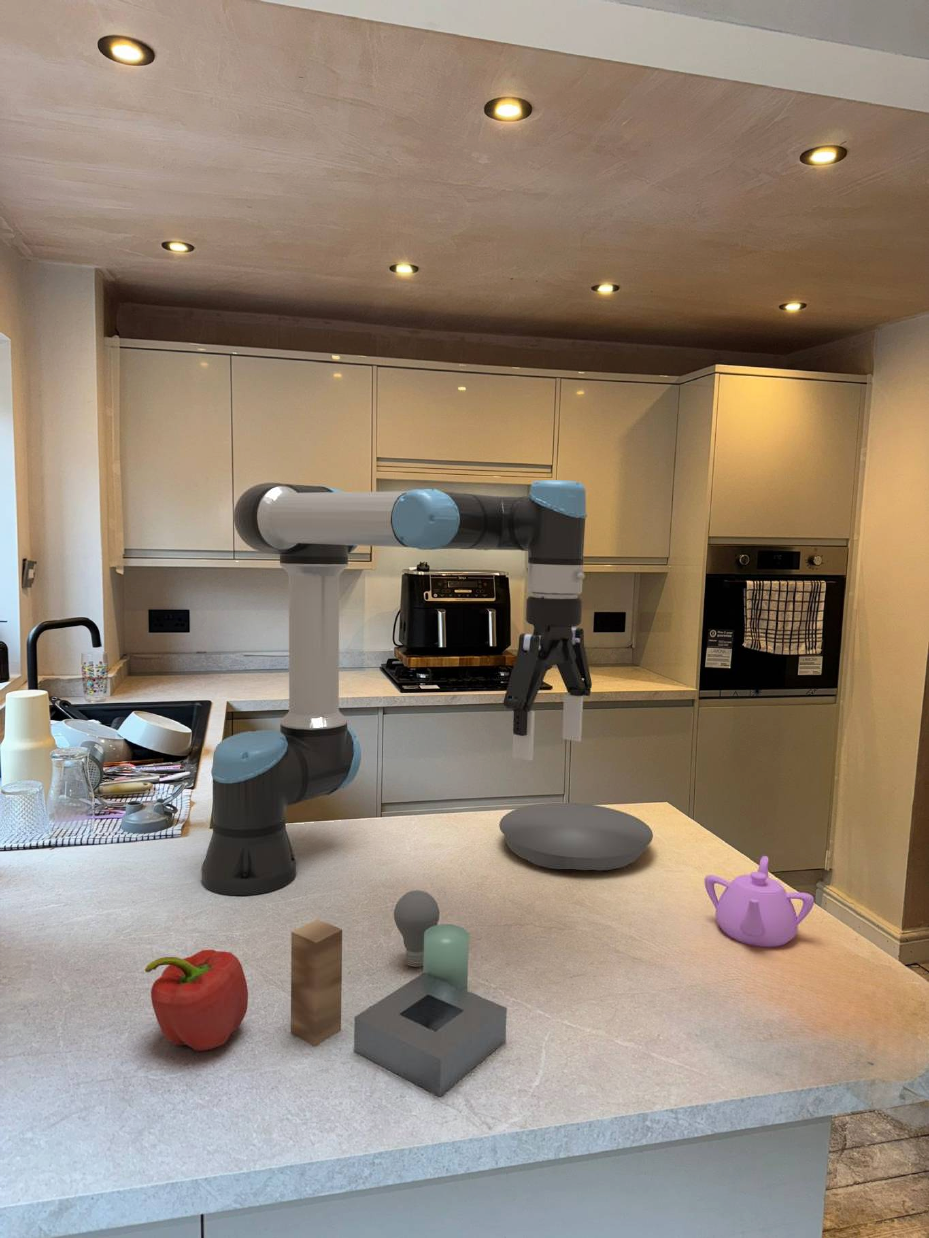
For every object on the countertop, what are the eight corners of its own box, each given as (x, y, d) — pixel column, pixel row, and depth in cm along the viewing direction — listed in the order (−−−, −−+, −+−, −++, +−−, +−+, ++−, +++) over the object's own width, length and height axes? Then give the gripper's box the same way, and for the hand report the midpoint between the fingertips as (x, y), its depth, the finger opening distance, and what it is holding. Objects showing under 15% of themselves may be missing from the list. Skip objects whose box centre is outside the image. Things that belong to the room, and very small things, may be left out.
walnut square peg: (290, 1032, 94) (291, 931, 93) (316, 1017, 97) (317, 919, 96) (315, 1046, 91) (316, 942, 90) (340, 1029, 95) (342, 929, 93)
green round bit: (413, 998, 101) (414, 935, 101) (441, 979, 106) (442, 920, 105) (448, 1014, 98) (450, 950, 97) (475, 994, 103) (477, 933, 102)
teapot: (762, 908, 130) (766, 853, 129) (822, 951, 116) (827, 890, 115) (695, 915, 126) (698, 859, 125) (749, 960, 113) (753, 898, 112)
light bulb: (444, 958, 111) (446, 887, 110) (428, 980, 106) (430, 905, 105) (403, 950, 113) (405, 879, 112) (385, 971, 108) (386, 897, 107)
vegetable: (147, 1077, 85) (147, 985, 84) (143, 1023, 95) (142, 939, 94) (255, 1053, 90) (255, 966, 89) (240, 1004, 99) (240, 924, 98)
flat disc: (505, 819, 168) (506, 798, 168) (645, 829, 164) (646, 807, 164) (490, 876, 141) (491, 851, 140) (658, 889, 137) (660, 863, 136)
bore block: (354, 1051, 91) (354, 1016, 90) (423, 1003, 100) (423, 972, 100) (440, 1097, 84) (441, 1059, 83) (505, 1041, 93) (506, 1007, 93)
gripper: (530, 601, 100) (524, 773, 102) (619, 594, 120) (612, 737, 122) (479, 597, 104) (474, 762, 106) (573, 590, 124) (567, 729, 126)
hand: (548, 749), depth 114 cm, fingers open, 13 cm apart
